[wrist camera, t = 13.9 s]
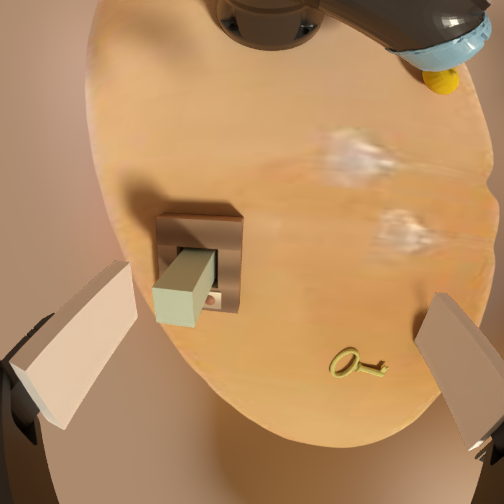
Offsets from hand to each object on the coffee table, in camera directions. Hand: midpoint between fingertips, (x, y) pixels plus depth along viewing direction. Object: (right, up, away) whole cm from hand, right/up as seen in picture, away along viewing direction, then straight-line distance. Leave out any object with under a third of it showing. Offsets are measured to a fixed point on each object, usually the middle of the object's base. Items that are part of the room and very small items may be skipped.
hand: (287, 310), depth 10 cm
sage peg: (-9, +1, +31) cm, 32 cm away
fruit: (+26, +29, +18) cm, 43 cm away
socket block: (-9, +1, +31) cm, 32 cm away
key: (+19, -19, +37) cm, 46 cm away
